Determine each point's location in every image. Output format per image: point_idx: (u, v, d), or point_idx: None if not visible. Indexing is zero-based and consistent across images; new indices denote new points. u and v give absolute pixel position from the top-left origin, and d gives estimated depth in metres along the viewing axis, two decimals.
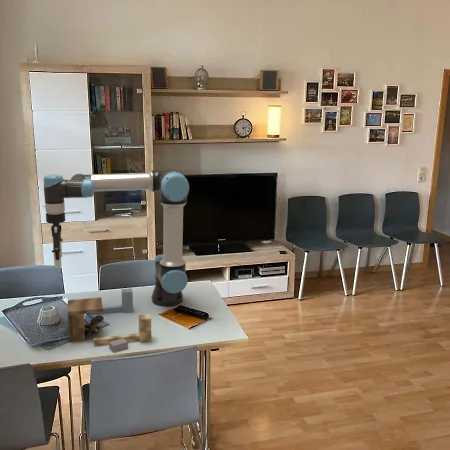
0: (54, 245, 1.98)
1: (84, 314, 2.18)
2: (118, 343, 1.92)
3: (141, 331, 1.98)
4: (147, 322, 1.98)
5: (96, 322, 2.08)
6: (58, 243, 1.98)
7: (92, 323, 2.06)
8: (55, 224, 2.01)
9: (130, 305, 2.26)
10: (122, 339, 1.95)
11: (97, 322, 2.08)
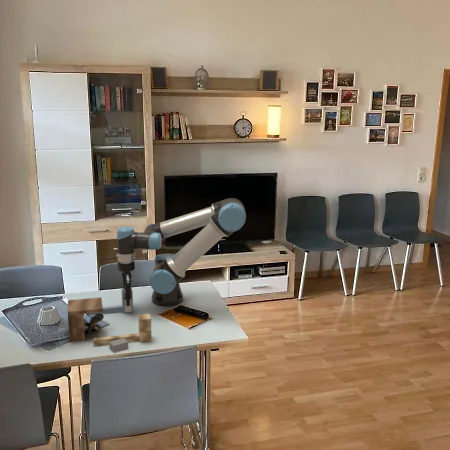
0: (126, 294, 2.20)
1: (84, 314, 2.18)
2: (118, 343, 1.93)
3: (141, 331, 1.98)
4: (147, 322, 1.98)
5: (96, 320, 2.09)
6: (130, 292, 2.21)
7: (92, 321, 2.08)
8: (127, 272, 2.20)
9: None
10: (122, 339, 1.95)
11: (97, 320, 2.10)
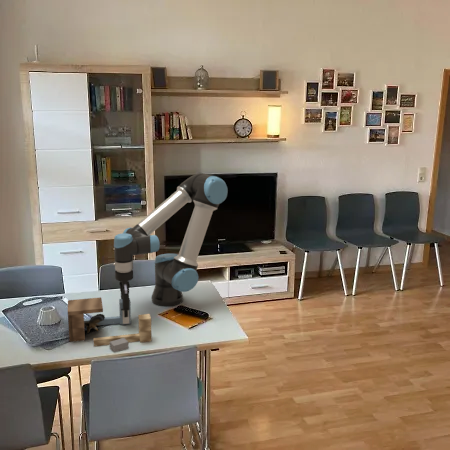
0: (124, 305, 2.08)
1: None
2: (119, 342, 1.93)
3: (141, 331, 1.98)
4: (147, 322, 1.98)
5: (97, 320, 2.09)
6: (128, 303, 2.08)
7: (92, 321, 2.08)
8: (124, 282, 2.08)
9: None
10: (123, 339, 1.95)
11: (98, 320, 2.09)
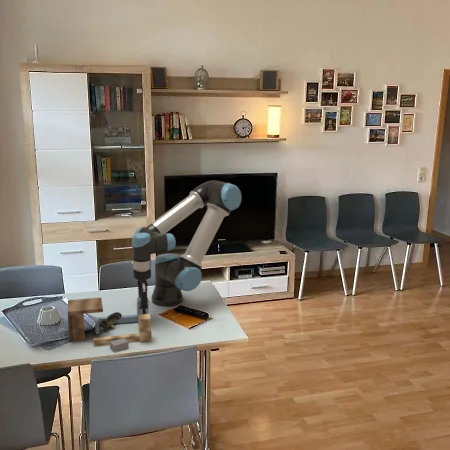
0: (142, 303, 2.10)
1: (98, 323, 2.08)
2: (119, 342, 1.93)
3: (141, 331, 1.98)
4: (147, 322, 1.98)
5: (114, 319, 2.11)
6: (146, 301, 2.10)
7: (110, 320, 2.10)
8: (143, 281, 2.10)
9: None
10: (123, 339, 1.95)
11: (115, 319, 2.11)
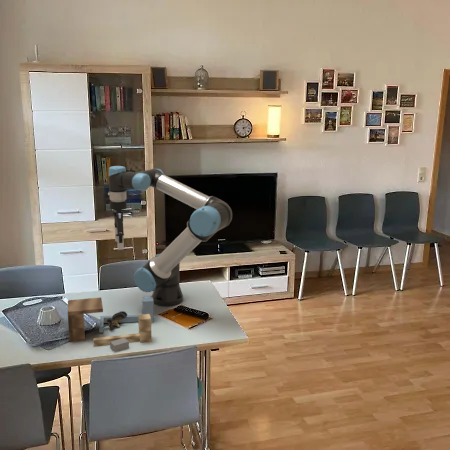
0: (118, 229, 2.19)
1: (102, 321, 2.09)
2: (119, 342, 1.93)
3: (141, 331, 1.98)
4: (147, 322, 1.98)
5: (119, 318, 2.12)
6: (122, 228, 2.20)
7: (115, 319, 2.11)
8: (118, 211, 2.23)
9: (151, 315, 2.16)
10: (123, 339, 1.95)
11: (120, 318, 2.13)
